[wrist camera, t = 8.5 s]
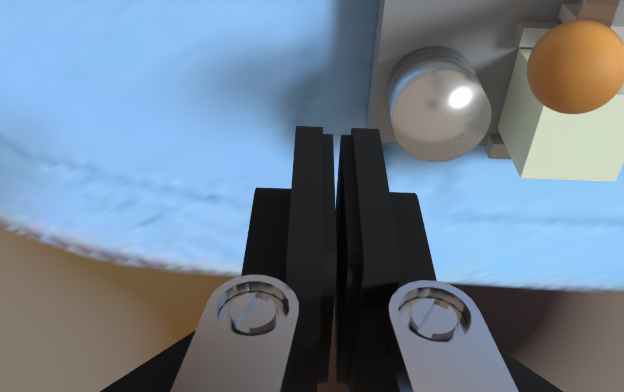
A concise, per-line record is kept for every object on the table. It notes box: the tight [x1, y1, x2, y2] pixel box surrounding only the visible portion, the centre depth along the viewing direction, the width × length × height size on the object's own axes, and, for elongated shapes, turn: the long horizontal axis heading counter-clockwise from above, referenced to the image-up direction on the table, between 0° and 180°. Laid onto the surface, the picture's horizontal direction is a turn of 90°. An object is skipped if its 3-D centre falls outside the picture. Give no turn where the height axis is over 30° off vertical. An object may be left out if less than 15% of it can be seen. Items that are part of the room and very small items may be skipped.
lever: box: [527, 0, 624, 114], centre depth 19 cm, size 3×3×10 cm
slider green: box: [497, 49, 624, 181], centre depth 24 cm, size 4×4×4 cm
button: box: [386, 46, 491, 162], centre depth 25 cm, size 4×4×3 cm
